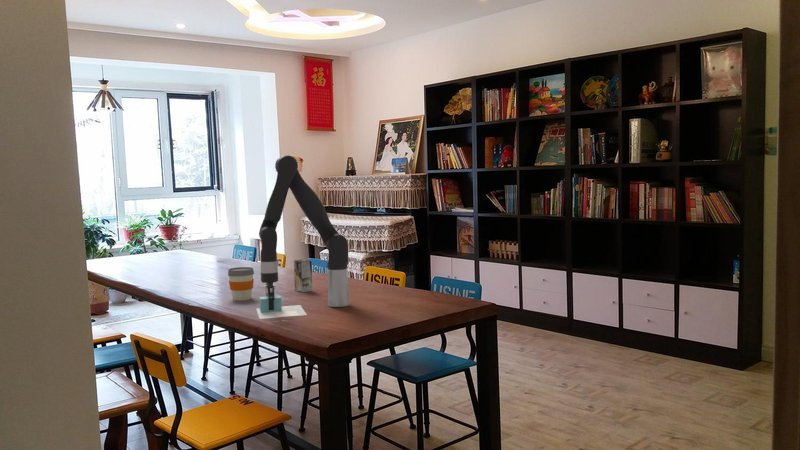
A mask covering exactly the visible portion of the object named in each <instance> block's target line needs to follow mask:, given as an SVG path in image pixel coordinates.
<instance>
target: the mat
mask: <svg viewBox="0 0 800 450" xmlns="http://www.w3.org/2000/svg"><path fill="white" fill-rule="evenodd" d="M255 309H256V312H257V316H258V319H259V320H263V319H264V320H265V319H277V318H287V317H299V316H300V317H301V316H307V315H308V314H307V312H305V309H304V308H303V307H302V305H301V304H295V305H294V304H293V305H284V306H282V311H277V312H265V313H261V311H260V307H258V308H255Z"/></svg>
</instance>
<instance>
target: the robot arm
mask: <svg viewBox="0 0 800 450" xmlns="http://www.w3.org/2000/svg"><path fill="white" fill-rule="evenodd" d="M274 164H275V165H274V168H275V172H277V174H276V176H277V177H276V181H275V184H274V187H273V189H272V192H271V195H270V198H269V199H268V202H267V206H266V209H265V213H264V217H263V220H262V222H261V225H260V227H259V230H258V231H259V232H258V236H259V238H260V241H261V250H260V282H261V283H263V284H265V286H264V289H265V290H264V291H265V295H266V296H267V297H268V302H269V310H274V300H275V299H274V296H276V293H275V290H276V288H275V287H276V286H275V284H274V283H277V282H279V269H278V268H279V266H278V255H277V247H278V246H277V245H278V233H277V226H278V223H280V221H281V219H282V215H283V212H284V208H285V204H286V199H287V196H288V192H289V190H290V191H291V193H292V195H293V197H294V199H295V200H296V202H297V204H298V205H299V208H300V209H301V210H302V212H303V214H304V215H305V216H306V218H307V219H308V221H309V222H310V223H311V225H312V226H313V227H314V229H315V230H316V231H317V232H318V233H317V234H319V236H320V238H321V240H322V242H323V244H324V247H325V248H326V249H327V251H328V261H327V263H326V266H327V267H326V269H327V270H326V271H327V299H328V300H327V301H328V302H327V303H328V307H332V308H343V307H348V306H349V307H350V286H349V281H348V275H349V274H348V264H349V242H348V239H347V238H346V237H345V236H344V235H342V234H340V233H339V232H338V231H337V230H336V227H334V225H333V224H332V222H331V220H330V218H329V215H328V212H327V210H326V208H325V206H324V204H323V202H322V201H321V199H320V197H319V196H318V195H317V193H316V192H315V191H314V190H313V189H312V188H311V187H310V186H309V184H307V182H306V181H305V180H304V179H303V177H302V175H301V173H300V171H299V170H298V168H299V164H298V161H297V159H296V158H295V157H294V156H292V155H289V154H288V155H283V156H280V157H278V158H277V159H276V161H275V163H274ZM270 297H273V298H270Z"/></svg>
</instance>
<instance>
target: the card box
mask: <svg viewBox="0 0 800 450" xmlns="http://www.w3.org/2000/svg"><path fill="white" fill-rule="evenodd" d="M270 298H273V297H270ZM274 299H275V300H274V310H269V302H268V297H267V296H259V308H260V311H261V313H265V312H277V311H282V297H281V295H279V294H278V295H275V296H274Z"/></svg>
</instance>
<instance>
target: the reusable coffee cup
mask: <svg viewBox="0 0 800 450" xmlns="http://www.w3.org/2000/svg"><path fill="white" fill-rule="evenodd" d="M254 274H255V272H254V268H253V267H249V266H242V267H241V266H239V267H232V268H228V271H227V275H228V278H229V280H228V284H229V290H230V291H231V296H232V300H233V301H248V300H250V299H252V295H253V289H254V281H255V279H254Z"/></svg>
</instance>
